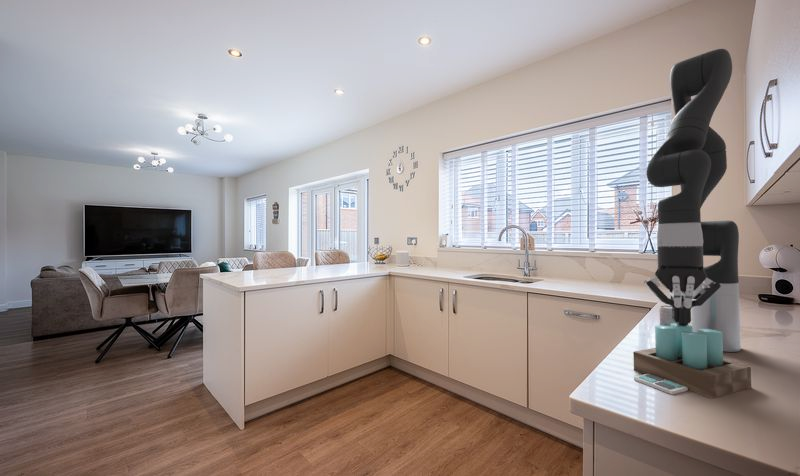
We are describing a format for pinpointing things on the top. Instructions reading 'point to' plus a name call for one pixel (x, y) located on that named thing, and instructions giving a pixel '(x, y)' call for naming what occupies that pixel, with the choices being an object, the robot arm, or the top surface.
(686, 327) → the teal capsule
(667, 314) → the energy drink
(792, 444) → the top surface
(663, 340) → the pale teal rounded cylinder
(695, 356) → the light turquoise rounded peg
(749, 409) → the top surface
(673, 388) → the tile
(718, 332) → the turquoise cylinder
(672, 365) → the wooden compartment tray
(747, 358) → the top surface
